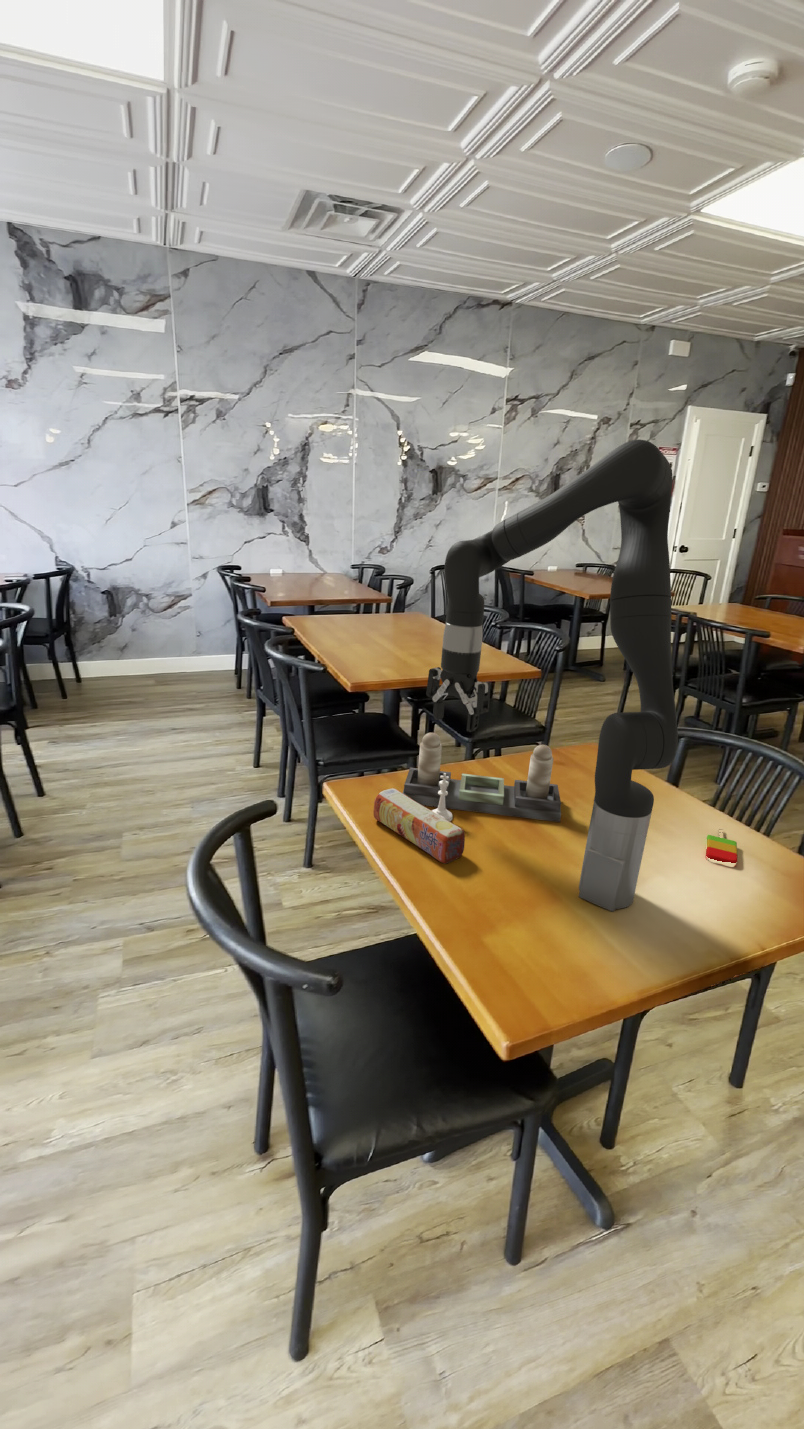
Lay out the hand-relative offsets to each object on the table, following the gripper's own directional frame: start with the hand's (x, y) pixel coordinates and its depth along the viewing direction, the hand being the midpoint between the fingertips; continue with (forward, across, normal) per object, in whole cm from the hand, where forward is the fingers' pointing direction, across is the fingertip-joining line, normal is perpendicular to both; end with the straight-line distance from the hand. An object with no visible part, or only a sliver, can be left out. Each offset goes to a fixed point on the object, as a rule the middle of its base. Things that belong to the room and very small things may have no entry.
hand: (454, 724), depth 131 cm
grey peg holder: (+20, -1, -11) cm, 23 cm away
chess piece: (+20, 0, +2) cm, 21 cm away
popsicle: (+21, -45, -33) cm, 60 cm away
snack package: (+21, -3, +12) cm, 24 cm away
